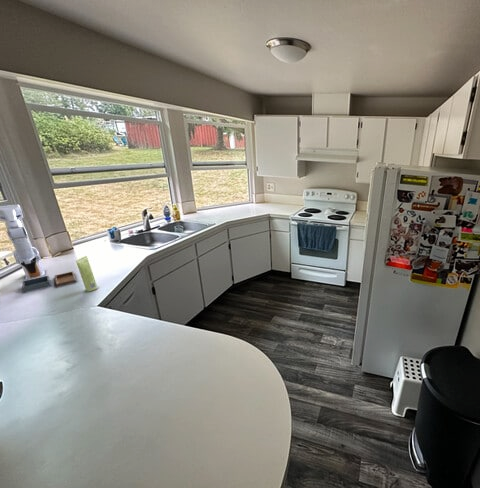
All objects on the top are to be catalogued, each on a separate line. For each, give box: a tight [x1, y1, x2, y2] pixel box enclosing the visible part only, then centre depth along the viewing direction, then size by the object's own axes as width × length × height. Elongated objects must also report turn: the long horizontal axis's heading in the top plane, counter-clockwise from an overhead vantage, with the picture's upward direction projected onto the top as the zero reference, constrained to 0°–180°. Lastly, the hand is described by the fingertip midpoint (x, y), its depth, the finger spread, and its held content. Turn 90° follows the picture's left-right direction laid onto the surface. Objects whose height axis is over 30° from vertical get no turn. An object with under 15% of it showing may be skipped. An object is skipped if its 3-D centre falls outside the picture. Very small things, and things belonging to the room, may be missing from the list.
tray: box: [54, 271, 77, 287], centre depth 151 cm, size 15×8×2 cm, turn 47°
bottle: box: [26, 260, 41, 279], centre depth 141 cm, size 4×4×10 cm
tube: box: [75, 255, 98, 292], centre depth 140 cm, size 6×5×20 cm
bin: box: [21, 275, 52, 293], centre depth 144 cm, size 10×10×3 cm
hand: (33, 271), depth 141 cm, fingers closed on bottle, 4 cm apart
